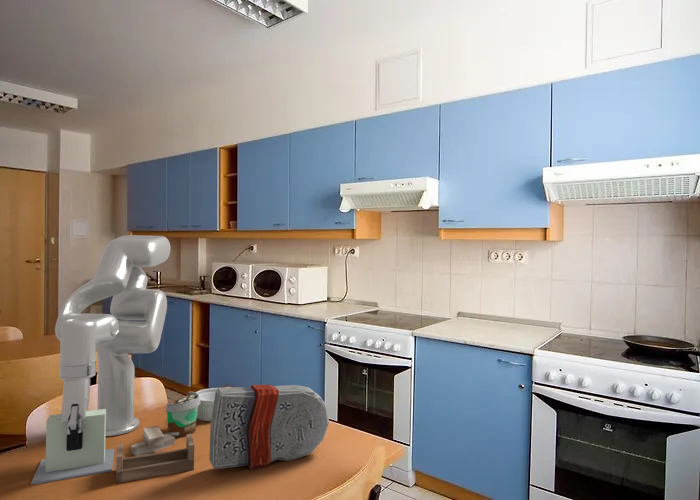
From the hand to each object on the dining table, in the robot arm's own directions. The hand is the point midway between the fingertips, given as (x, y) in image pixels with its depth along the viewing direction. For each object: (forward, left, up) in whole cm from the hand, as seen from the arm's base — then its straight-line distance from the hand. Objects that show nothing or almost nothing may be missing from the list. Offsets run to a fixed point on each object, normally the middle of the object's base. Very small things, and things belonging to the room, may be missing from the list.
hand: (76, 442), depth 109 cm
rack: (+9, +17, -6) cm, 21 cm away
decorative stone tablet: (+15, +44, -6) cm, 47 cm away
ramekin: (-22, +35, -6) cm, 42 cm away
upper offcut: (-3, +17, -4) cm, 18 cm away
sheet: (0, 0, -5) cm, 5 cm away
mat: (0, 0, -6) cm, 6 cm away
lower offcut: (-3, +17, -6) cm, 19 cm away
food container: (-11, +26, -6) cm, 29 cm away
